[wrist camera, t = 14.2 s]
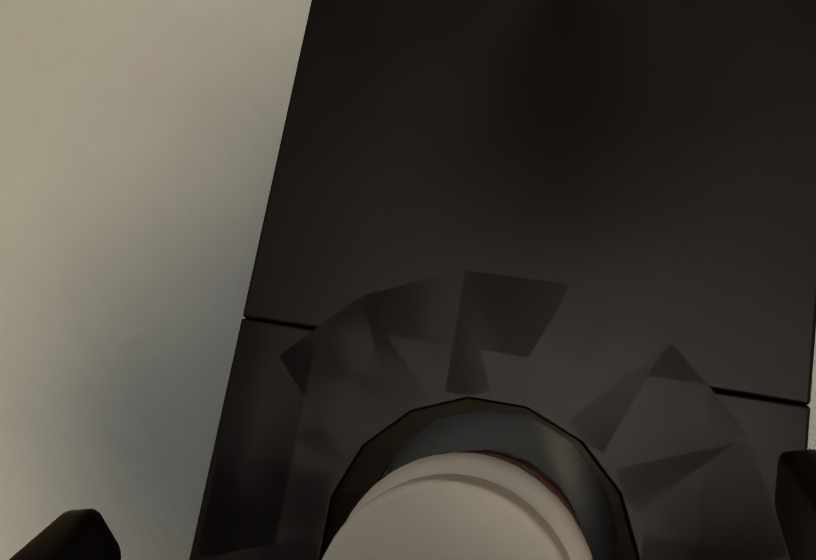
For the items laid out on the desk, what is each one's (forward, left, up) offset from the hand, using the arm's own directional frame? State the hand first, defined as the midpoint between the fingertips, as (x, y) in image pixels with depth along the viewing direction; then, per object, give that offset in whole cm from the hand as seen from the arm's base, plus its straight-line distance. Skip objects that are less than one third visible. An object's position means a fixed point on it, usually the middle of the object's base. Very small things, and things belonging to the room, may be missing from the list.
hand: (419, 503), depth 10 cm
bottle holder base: (+6, +1, -10) cm, 12 cm away
